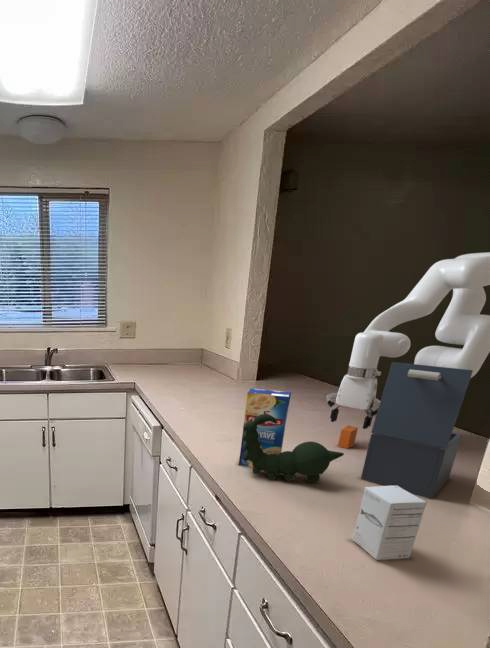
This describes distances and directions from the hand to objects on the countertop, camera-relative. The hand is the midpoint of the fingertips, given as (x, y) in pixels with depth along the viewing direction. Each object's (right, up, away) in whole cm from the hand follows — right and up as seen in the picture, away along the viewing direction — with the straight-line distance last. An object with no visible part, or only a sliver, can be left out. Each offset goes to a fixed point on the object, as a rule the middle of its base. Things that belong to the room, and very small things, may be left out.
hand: (349, 424), depth 142 cm
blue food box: (-35, -13, -12) cm, 39 cm away
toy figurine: (-31, -16, -22) cm, 41 cm away
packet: (+1, -7, +3) cm, 7 cm away
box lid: (-4, +4, -35) cm, 35 cm away
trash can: (+2, -16, -23) cm, 28 cm away
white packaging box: (-27, -28, -55) cm, 67 cm away
